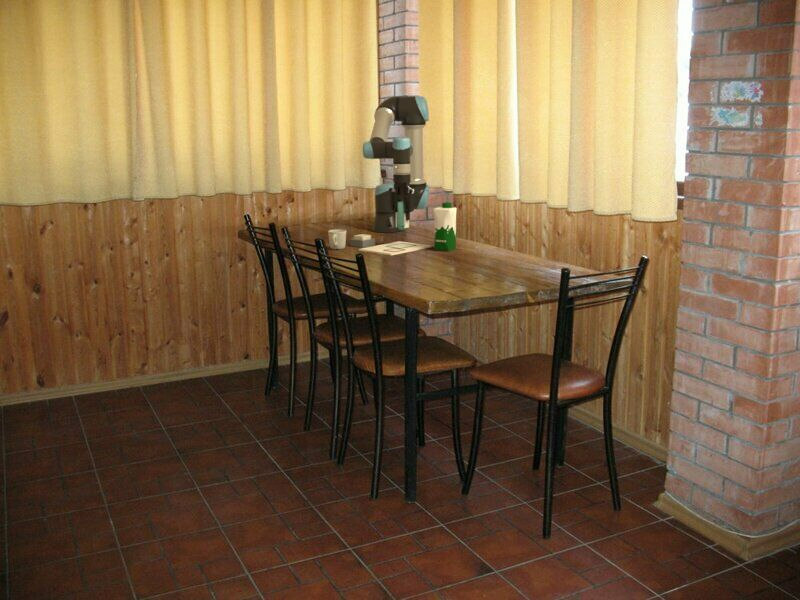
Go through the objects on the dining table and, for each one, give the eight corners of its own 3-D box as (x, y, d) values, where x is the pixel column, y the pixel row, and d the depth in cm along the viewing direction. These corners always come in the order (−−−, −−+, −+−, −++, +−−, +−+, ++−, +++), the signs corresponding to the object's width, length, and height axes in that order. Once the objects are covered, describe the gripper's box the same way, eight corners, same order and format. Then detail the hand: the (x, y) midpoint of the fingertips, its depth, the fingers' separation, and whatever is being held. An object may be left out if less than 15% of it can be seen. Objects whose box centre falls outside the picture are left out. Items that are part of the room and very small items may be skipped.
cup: (342, 251, 375) (341, 233, 373) (324, 251, 376) (324, 232, 375) (348, 247, 385) (348, 229, 383) (331, 247, 387) (330, 229, 385)
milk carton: (458, 248, 378) (458, 202, 373) (449, 252, 370) (449, 205, 366) (440, 247, 382) (440, 201, 377) (431, 250, 374) (430, 204, 370)
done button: (362, 240, 393) (362, 234, 392) (371, 241, 389) (370, 235, 389) (353, 242, 389) (353, 235, 388) (362, 243, 385) (362, 236, 385)
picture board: (399, 243, 395) (399, 240, 394) (431, 247, 382) (431, 245, 382) (358, 250, 376) (358, 248, 376) (391, 255, 364) (391, 253, 363)
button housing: (362, 243, 395) (362, 236, 394) (375, 245, 390) (375, 238, 389) (349, 245, 389) (349, 239, 389) (362, 247, 384) (362, 240, 383)
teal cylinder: (401, 228, 386) (401, 201, 384) (408, 228, 384) (408, 201, 381) (396, 229, 383) (395, 201, 381) (402, 229, 381) (402, 202, 378)
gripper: (381, 173, 381) (382, 226, 386) (410, 175, 370) (411, 229, 375) (393, 172, 387) (393, 224, 392) (422, 173, 375) (422, 228, 380)
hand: (402, 227), depth 383 cm, fingers closed on teal cylinder, 4 cm apart
